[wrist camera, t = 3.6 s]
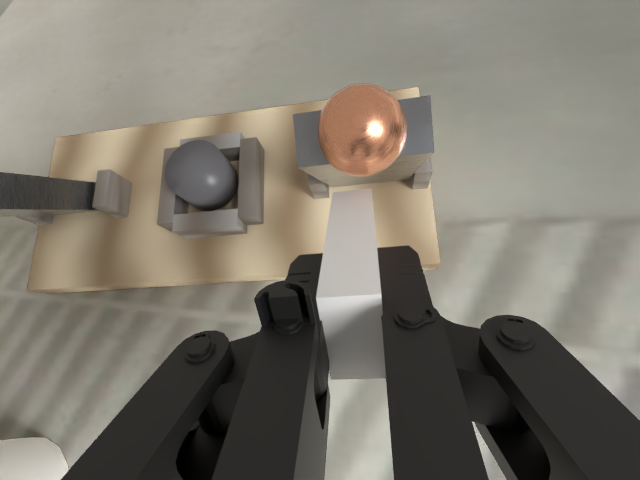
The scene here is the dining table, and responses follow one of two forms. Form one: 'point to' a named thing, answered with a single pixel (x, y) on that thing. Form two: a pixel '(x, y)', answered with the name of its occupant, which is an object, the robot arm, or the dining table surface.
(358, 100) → the copper ball grey stand
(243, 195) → the switch board
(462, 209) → the dining table surface
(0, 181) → the grey lever handle
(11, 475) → the foam cup
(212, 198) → the charcoal button
